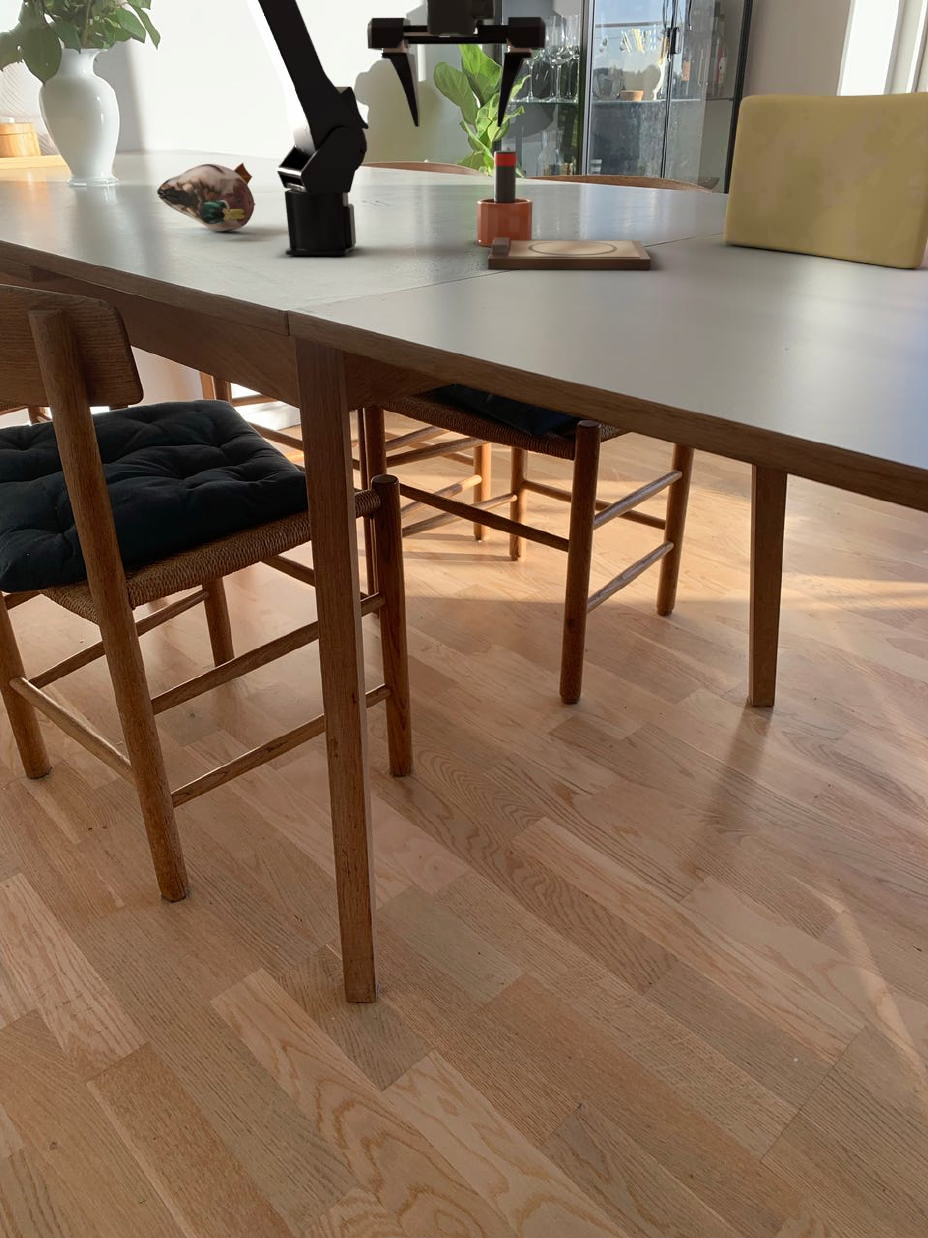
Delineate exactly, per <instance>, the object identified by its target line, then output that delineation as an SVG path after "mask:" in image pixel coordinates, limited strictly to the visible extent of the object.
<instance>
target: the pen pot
mask: <svg viewBox="0 0 928 1238" xmlns="http://www.w3.org/2000/svg"><path fill="white" fill-rule="evenodd" d="M533 202H534V201H533V199H529V198H521V197H515V203H494V197H490V198H481V199H478V200H477V212H476V213H477V215H476V216H477V228H476V229H477V230H476V231H477V238H476V239H477V244H478V245H479V246H482V247H488V248H489V247H490V248H492V243H493V240H494V238H495V237H509V241H532V236H533V235H532V233H533Z"/></svg>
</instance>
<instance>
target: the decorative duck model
mask: <svg viewBox="0 0 928 1238" xmlns="http://www.w3.org/2000/svg"><path fill="white" fill-rule="evenodd" d="M244 164H245V162H241V163H240V164H238V165H237V166H236V167H235V168H234V170H233V169H231V168H229V167H227V166H224V165H220V164H216V163H205V164H200V165H196V166H194V167H192V168H189V169H187V170H186V171H184V172H182V173H180V174H179V175H176V176H175V175H174V176H173V177H170V178H169V179H167V180H165V181H164V182H163V183H162V184H160V186H159V187H158V188H157V190H156V193H157V196H158V198H159V199H160V200H161V201H162V202H163V203H164V204H166V205H167V206H169V207H170V208H172V209H173V210H175V211H177V212H178V213H181V214H183V215H185V216H187V217H188V218H191V219H192V220H195V221H197V222H198V223H200V224H201V225H203V226H204V227H206V228H208V229H210V230H212V231H215V232H230V231H235V230H238V229H241V228H243V227H244V226H246V225H247V224H248V223H249V221H250V220H251V219H252V216H253V214H254V211H255V206H256V203H255V199H254V195H253V193H252V191H251V189H250V187H249V183H250V181H251V179H252V178H253V176H252V174H250V173H249V171H248V170H247V169H246V167H245V165H244Z"/></svg>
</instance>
